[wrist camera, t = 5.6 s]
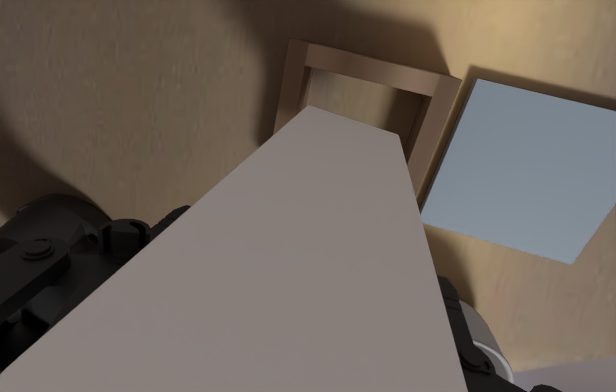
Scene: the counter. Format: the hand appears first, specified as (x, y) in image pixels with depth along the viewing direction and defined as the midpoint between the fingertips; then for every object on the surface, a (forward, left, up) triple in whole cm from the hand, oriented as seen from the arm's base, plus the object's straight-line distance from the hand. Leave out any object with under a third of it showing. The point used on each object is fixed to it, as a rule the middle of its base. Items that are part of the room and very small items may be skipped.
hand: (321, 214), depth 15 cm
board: (+15, 0, -16) cm, 22 cm away
